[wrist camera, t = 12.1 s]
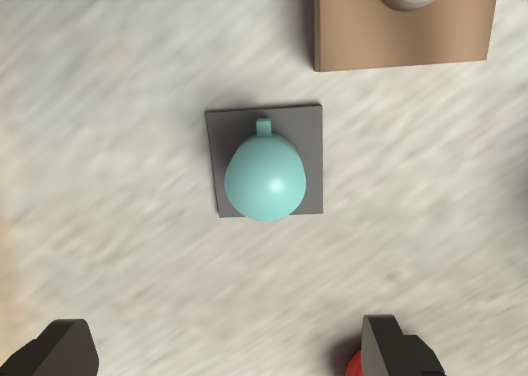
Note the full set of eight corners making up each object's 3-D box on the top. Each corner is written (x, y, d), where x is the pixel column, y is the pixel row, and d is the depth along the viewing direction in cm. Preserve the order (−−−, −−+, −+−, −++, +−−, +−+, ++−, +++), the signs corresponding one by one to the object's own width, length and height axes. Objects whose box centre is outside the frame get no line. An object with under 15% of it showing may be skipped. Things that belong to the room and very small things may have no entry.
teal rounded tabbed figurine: (228, 119, 25) (218, 129, 21) (300, 115, 24) (305, 125, 20) (237, 210, 27) (230, 236, 23) (302, 208, 27) (306, 233, 23)
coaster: (220, 214, 28) (219, 217, 28) (207, 112, 25) (205, 113, 25) (321, 210, 28) (322, 213, 27) (321, 105, 25) (322, 106, 24)
